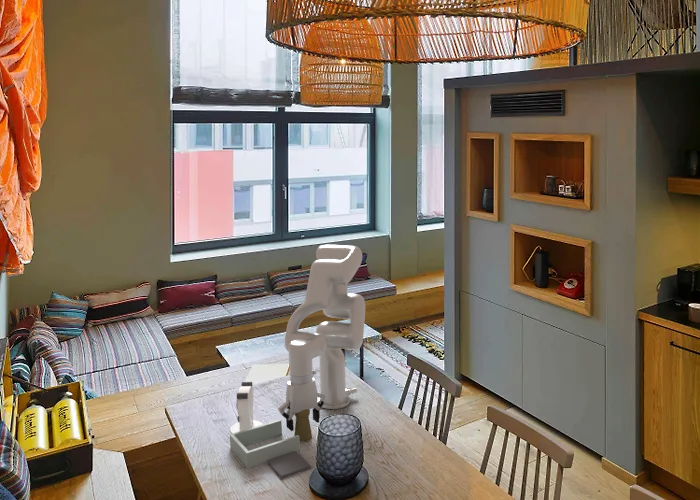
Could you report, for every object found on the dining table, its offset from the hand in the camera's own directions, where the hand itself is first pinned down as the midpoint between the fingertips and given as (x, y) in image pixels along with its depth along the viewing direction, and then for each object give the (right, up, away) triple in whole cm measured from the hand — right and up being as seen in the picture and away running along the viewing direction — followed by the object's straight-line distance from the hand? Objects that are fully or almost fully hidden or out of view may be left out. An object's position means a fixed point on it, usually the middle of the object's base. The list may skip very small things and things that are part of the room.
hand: (303, 425), depth 194 cm
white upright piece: (-20, -4, +8) cm, 22 cm away
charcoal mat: (-3, -7, -17) cm, 19 cm away
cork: (0, -4, 0) cm, 4 cm away
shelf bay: (-12, -6, -7) cm, 15 cm away
